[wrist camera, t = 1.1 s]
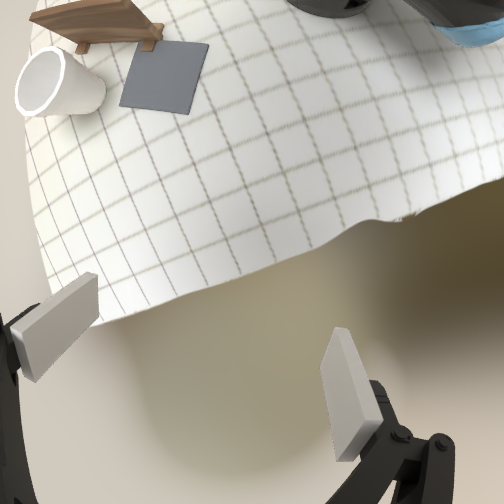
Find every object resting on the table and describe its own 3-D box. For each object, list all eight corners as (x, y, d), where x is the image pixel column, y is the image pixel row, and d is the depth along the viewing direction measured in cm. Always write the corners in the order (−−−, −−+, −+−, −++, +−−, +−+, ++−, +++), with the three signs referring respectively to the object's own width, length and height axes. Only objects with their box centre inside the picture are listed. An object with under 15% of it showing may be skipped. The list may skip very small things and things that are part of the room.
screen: (85, 29, 33) (37, 1, 19) (167, 25, 33) (130, -19, 20) (75, 54, 34) (23, 31, 21) (157, 53, 34) (114, 15, 21)
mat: (140, 41, 34) (139, 40, 33) (208, 45, 34) (208, 43, 33) (120, 106, 37) (118, 105, 36) (188, 114, 37) (187, 114, 37)
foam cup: (122, 102, 37) (72, 84, 24) (77, 134, 38) (22, 131, 26) (104, 57, 35) (57, 32, 22) (62, 90, 36) (10, 78, 24)
